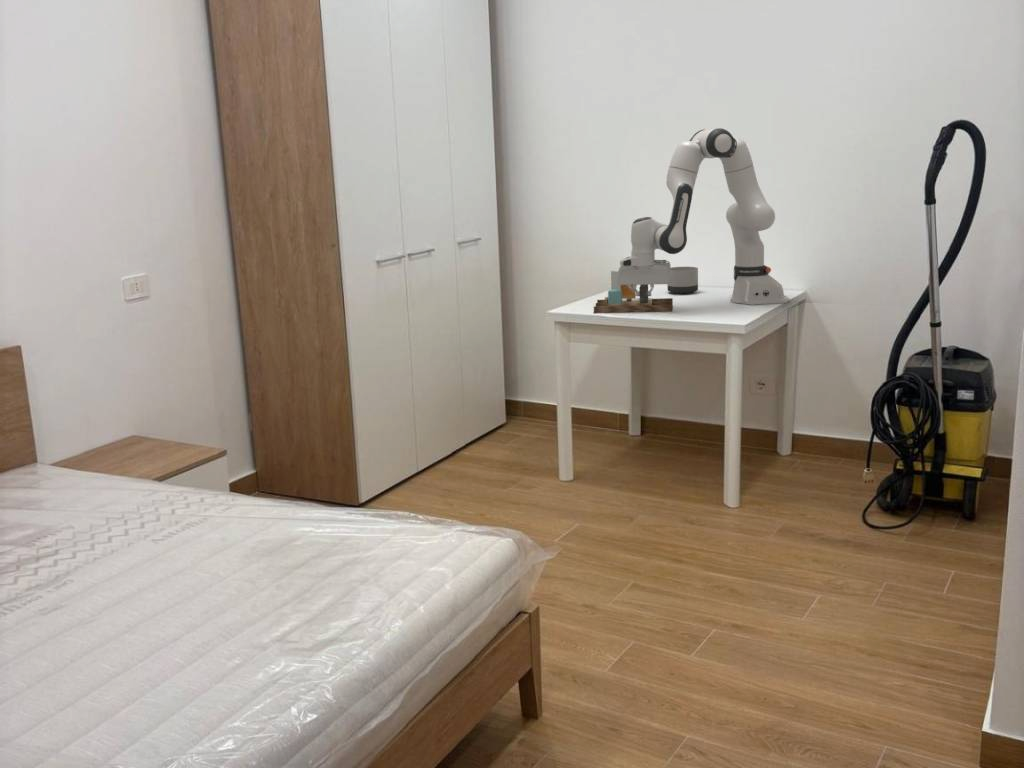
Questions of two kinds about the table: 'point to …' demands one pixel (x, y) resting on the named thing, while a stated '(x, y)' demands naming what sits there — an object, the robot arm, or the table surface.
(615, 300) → the teal cube
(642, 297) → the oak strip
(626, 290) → the small box
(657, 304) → the lane board
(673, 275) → the planter
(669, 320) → the table surface
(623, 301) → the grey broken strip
